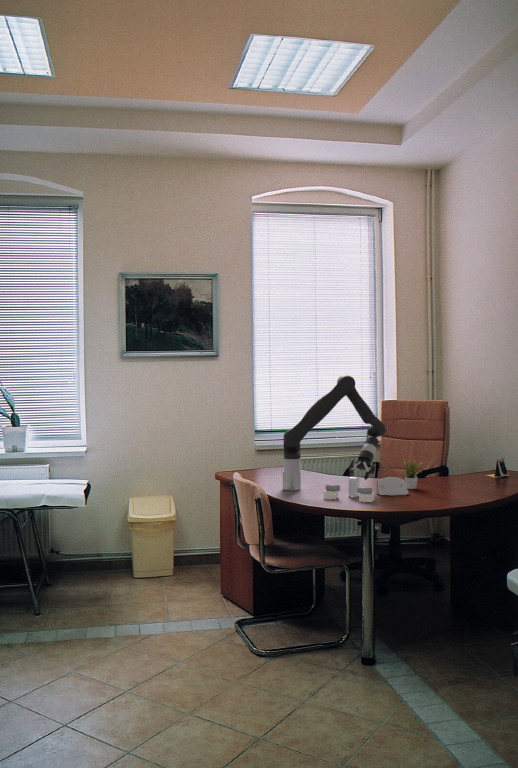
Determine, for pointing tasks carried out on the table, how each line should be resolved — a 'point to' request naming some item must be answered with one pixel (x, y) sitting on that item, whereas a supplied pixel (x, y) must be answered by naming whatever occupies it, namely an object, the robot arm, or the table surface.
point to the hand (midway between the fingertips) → (357, 478)
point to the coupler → (353, 486)
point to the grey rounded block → (391, 486)
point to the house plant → (411, 475)
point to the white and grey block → (365, 494)
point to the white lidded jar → (331, 491)
